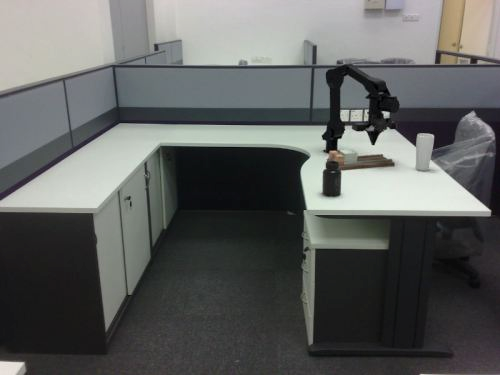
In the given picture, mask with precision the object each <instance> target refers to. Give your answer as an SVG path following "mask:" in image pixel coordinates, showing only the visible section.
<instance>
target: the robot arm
mask: <svg viewBox="0 0 500 375" xmlns="http://www.w3.org/2000/svg"><path fill="white" fill-rule="evenodd" d="M346 76H348V77H351V78H352V80H354V81H357V82H358V83H359V84H361V85H362V86H363V88H364V89H365V91H366V92H367V93H368V94H367V95H366V96H365V97H364V98H365V99H366V100H369V101H368V111H367V112H366V113H367V115H368V116H367V120H366V124H365V123H363V122H353V123H352V125H351V130H353V131H355V132H366V133H367V136H368V139H369V141H370V144H371V146H375V145H376V142H377V141H378V139H379V136H380V134H382V133H384V132H385V131H386V130H388V128H389V130H397V129H398V124H397V123H396V122H395V121H393V118H392V117H385V116H384V115H385V114H384V112H385V113H392V114H396V113H397V112H398V111H399V109H400V105H401V104H400V101H399V99H398V96H397V95H396V96H394V95H393V96H392V95H391V93H390V90H389V88H388V86H387V83H386V81H385V80H383V79H381V78H378V77H373V76H370V75H369V74H368V73H365V72H364V71H362V70H361V69H359V68H358V67H357V66H355V65H354V64H352V63H345V64H342V65H339V66H337V67H335V68H329V69H328V70H327V71H326V72H325V83H326V84H327V86H328V88H329V119H328V121H327V124H326V130H325V131H324V132H323V134H321V139H322V140H323V141H325V149H326V150H325V151H326V152H327V153H326V152H325V151H324V152H325V153H326V154H329V151H337V152H339V150H338V145H339V144H338V143H339V140H341V139H343V136H344V134H345V131H346V123H345V121H342V118H341V88H342V85H343V84H344V81H345V77H346Z"/></svg>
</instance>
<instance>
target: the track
mask: <svg viewBox="0 0 500 375" xmlns="http://www.w3.org/2000/svg"><path fill="white" fill-rule="evenodd" d="M327 161H337V162H339V168H338V169H340V170H341V171H350V170H362V169H374V168H385V167H395V161H393V159H392V158H387V157H385V156H384V154H383V153H379V154H366V155H365V154H364V155H357V162H345V163H344V156H343V155H341V154H340V153H338V152H337V151H329V153H328V158H326V162H327Z"/></svg>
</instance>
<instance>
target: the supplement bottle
mask: <svg viewBox="0 0 500 375" xmlns="http://www.w3.org/2000/svg"><path fill="white" fill-rule="evenodd" d="M338 168H339V162H337V161H327V160H326V162H325V168H324V169H323V171H322V184H321V185H322V186H321V187H322V189H321V190H322V194H323V195H324V196H326V197H338V196H340V194H342V170H340V169H338Z"/></svg>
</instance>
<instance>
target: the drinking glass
mask: <svg viewBox="0 0 500 375" xmlns="http://www.w3.org/2000/svg"><path fill="white" fill-rule="evenodd" d="M415 141H416V144H415V169H416V171H420V172H426V171H429V168H430V165H431V164H430V163H431V158H432V154H433V149H434V143H435V142H434V141H435V135H434V134H431V133H418V134H417V136H416V140H415Z"/></svg>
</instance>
